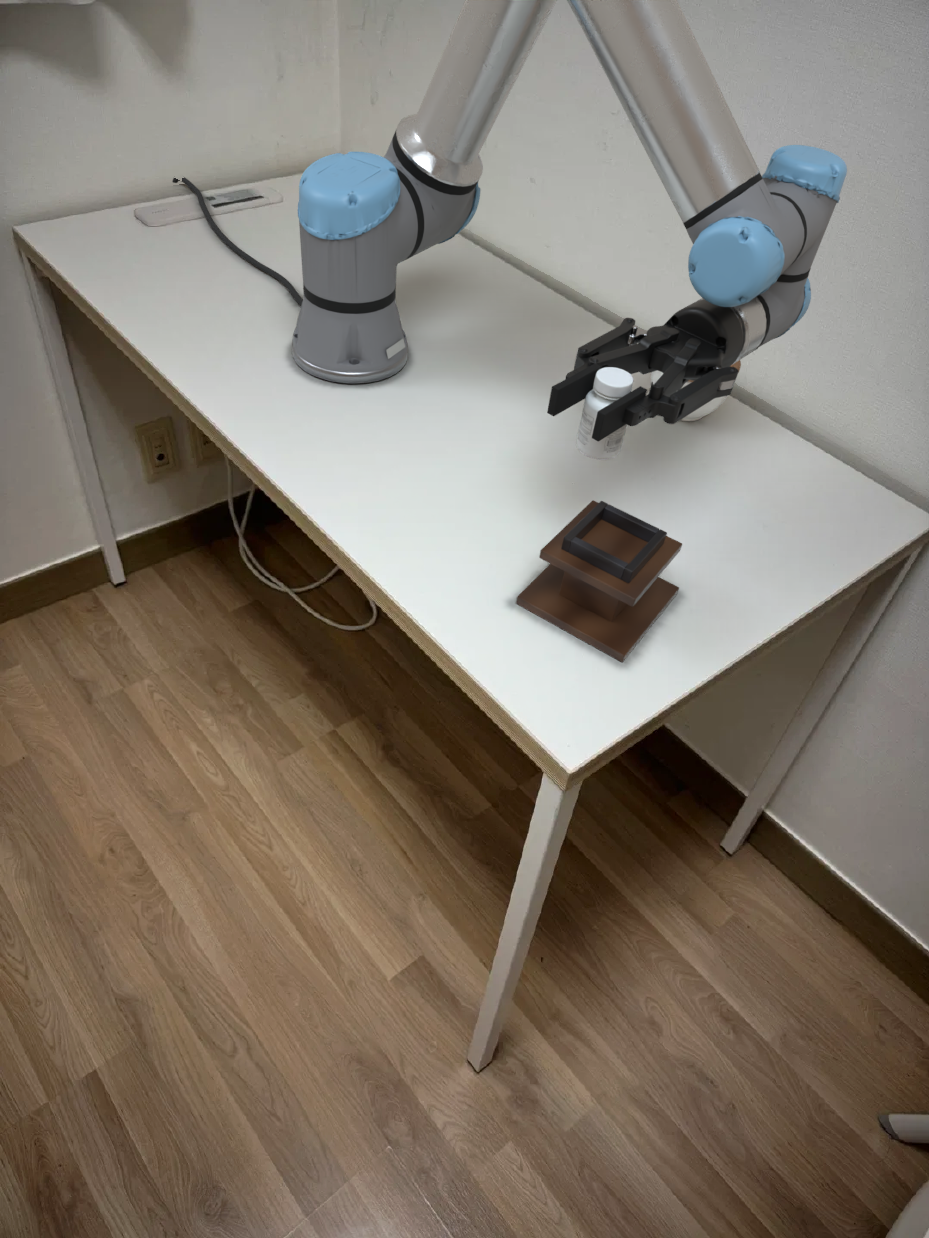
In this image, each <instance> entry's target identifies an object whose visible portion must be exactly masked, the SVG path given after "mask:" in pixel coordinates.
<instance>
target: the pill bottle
mask: <svg viewBox="0 0 929 1238" xmlns="http://www.w3.org/2000/svg"><path fill="white" fill-rule="evenodd" d="M633 385H634V377H633V374H630V373H628V372H627V371H625V370H622V369H619V368H614V367H605V368H602V369H600V370H598V371H597V373H596V376H595V380H594V385H593V389H592V390H591V391H590V392H589V393H588V394H587V395H586V398H585V399H584V403H583V406H582V411H581V416H580V420H579V426H578V430H577V434H576V439H575V445H576V448H577V450H578V451H579V452H580V454H582V455H584V456H586V457H587V458H591V459H595V460H601V461H602V460H605V461H607V460H611V459H614V458H615V457H617V456H618V455H619V454H620V452H621V450H622V446H623V442H624V440H625V435H626V431H627V427H628V425H627V424H626V425H624V426H623V427H621V428H620V429H618V430H616V431H615V432H613V433H611V434H610V435H608V436H607V437H605V438H603V439H602V440H600V441H599V442H598V441H596V440H594V439H593V438H592V434H593V430H594V425H595V421H596V417H597V412H598V411H599V410H601V409H603V408H604V407H606V406H608V405H609V404H611V403H613V402H615V401H616V400H618V399H620V398H621V397H623V396H625V395H626V394H628V393H630V392H632V391H633Z"/></svg>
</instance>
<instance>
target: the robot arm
mask: <svg viewBox="0 0 929 1238" xmlns="http://www.w3.org/2000/svg"><path fill="white" fill-rule="evenodd" d="M557 2H558V0H464V2H463V4H462V7H461V9H460V11H459V14H458V16H457V19H456V21H455V23H454V26H453V28H452V30H451V33H450V35H449V38H448V40H447V42H446V45H445V46H444V49H443V51H442V53H441V56H440V58H439V61H438V63H437V66H436V68H435V70H434V73H433V74H432V77H431V79H430V82H429V84H428V87H427V89H426V91H425V93H424V96H423V99H422V101H421V103H420V106H419V108H418V111H417V112H416V113H413V114H410V115H406V116H404V117H403V118H402V119H400V121H399V122H398V124H397V126H396V128H395V131H394V133H393V136H392V137H391V140H390V143H389V145H388V148H387V150H386V153H385V154H384V156H381V155H379V154H377V153H372V152H368V151H367V152H366V151H348V152H347V153H345V154H344V153H341V152H336V153H332V154H329V155H328V154H327V155H326V156H323V157H320V158H318V159H317V160H315V161H313V162H312V163H311V164H310V165H309V166H307V167H306V168H305V170H304V171H303V172H302V175H301V177H300V179H299V185H298V202H297V218H298V223H299V224H298V225H299V241H300V242H299V243H300V257H301V272H302V273H301V275H302V287H303V288H302V289H303V298H302V297H301V295H300V294H299V293H298V291H297V290H296V288H295V287H294V286H293V284H292V283H291V282H290V281H289V280H288V279H287V278H286V277H284V276H283V275H282V274H280V273H279V272H277V271H276V270H273V269H272V268H270V267H268V266H266V265H265V264H264V263H262V262H260V261H259V260H256V259H255V258H254V257H252V256H250V255H249V254H248V253H246V252H245V251H244V250H242V249H241V248H240V247H239V246H237V245H236V244H235V243H234V242H232V241H231V240H230V239H229V238H228V237H227V236H226V235H225V233H223V232H222V230H221V229H220V228H219V226H218V225H217V224H216V222H215V221H214V219H213V217H212V215H211V213H210V211H209V209H208V206H207V205H206V203H205V198H204V196H203V193H202V192H201V191H200V189H198V187H197V186H196V185H194V183H192V182H191V181H190V180H189V179H188V178H186V177H185V176H183V177H184V178H182V181H180V180H178V179H176V178H174V177H173V178H172V181H171V182H172V183H173V184H177V183H179V182H181V183H183V184H185V185H186V186H187V187H188V188H189V189H190V190H191V191H192V192H193V193H194V194H195V196H196V197H197V199H198V203H199V206H200V208H201V210H202V212H203V214H204V217H205V220H206V221H207V223H208V225H209V226H210V228H211V229H212V230H213V232H214V233H215V234H216V236H217V237H218V238H219V239H220V240H221V241H222V242H223V243H224V244H225V245H226V246H227V247H228V248H229V249H230V250H232V251H233V252H234V253H235V254H236V255H238V256H239V257H241V258H242V259H243V260H245V261H246V262H248V263H249V264H251V265H252V266H254V267H255V268H257V269H258V270H261V271H262V272H264V273H265V274H267V275H269V276H270V277H273V278H274V279H276V280H277V281H278V282H279V283H281V284H282V285H283V286H284V287H285V288H286V290H288V292H289V293H290V294H291V296H292V297H293V299H294V301H296V303H297V304H298V305H299V306H300V309H299V313H298V316H297V320H296V323H295V324H296V325H295V328H294V330H293V334H292V340H291V347H292V349H291V350H292V357H293V360H294V361H295V363H296V364H297V366H299V367H300V368H301V369H302V370H303V371H305V372H306V373H307V374H310V375H311V376H313V377H316V378H318V379H322V380H325V381H329V382H333V383H340V384H366V383H367V384H369V383H374V382H378V381H382V380H385V379H388V378H390V377H392V376H394V375H396V374H397V373H399V372H400V371H401V370H402V369H403V368H404V367H405V365H406V364H407V362H408V353H409V344H408V339H407V336H406V333H405V330H404V329H403V326H402V321H401V316H400V313H399V308H398V305H397V302H396V301H397V299H396V294H397V267H398V265H399V264H401V263H403V262H405V261H406V260H409V259H410V258H412V257H414V256H416V255H418V254H421V253H422V252H425V251H426V250H429V249H430V248H433V247H434V246H436V245H440V244H444V243H445V242H448V241H449V240H451V239H453V238H454V237H456V235H458V234H459V233H460V232H461V231H462V230H464V229H465V228H466V227H467V226H468V225H469V223H470V222H471V221H472V219H473V218H474V216H475V214H476V212H477V210H478V206H479V203H480V199H481V187H480V186H479V181H480V179H481V177H482V175H483V171H484V165H483V160H482V158H481V155H480V151H481V150H482V148H483V146H484V144H485V143H486V140H487V138H488V137H489V134H490V133H491V131H492V129H493V127H494V125H495V123H496V121H497V119H498V117H499V116H500V113H501V111H502V109H503V107H504V106H505V104H506V101H507V100H508V97H509V96H510V94H511V91H512V89H513V87H514V86H515V84H516V82H517V80H518V78H519V76H520V74H521V72H522V71H523V68H524V66H525V64H526V62H527V60H528V58H529V56H530V54H531V52H532V51H533V49H534V47H535V45H536V42H537V41H538V40H539V39H538V38H539V36H540V35H541V33H542V31H543V29H544V27H545V26H546V23H547V21H548V19H549V17H550V16H551V13H552V12H553V9H554V7H555V5H556V4H557ZM566 2H567V3H568V5H569V7H570V9H571V11H572V12H573V15H574V17H575V18H576V20H577V22H578V24H579V27H580V28H581V30H582V32H583V34H584V35H585V37H586V40H587V41H588V43H589V45H590V48H591V49H592V51H593V53H594V55H595V57H596V59H597V61H598V63H599V64H600V66H601V69H602V70H603V72H604V74H605V76H606V78H607V80H608V82H609V83H610V86H611V88H612V89H613V91H614V93H615V95H616V97H617V99H618V101H619V103H620V105H621V107H622V109H623V111H624V112H625V114H626V116H627V118H628V120H629V122H630V124H631V126H632V128H633V130H634V132H635V134H636V135H637V138H638V140H639V141H640V143H641V145H642V147H643V149H644V151H645V152H646V155H647V157H648V159H649V160H650V162H651V164H652V167H653V168H654V170H655V172H656V174H657V176H658V179H660V182H661V184H662V185H663V187H664V189H665V191H666V193H667V195H668V197H669V199H670V201H671V202H672V205H673V206H674V208H675V211H676V212H677V215H678V216H679V218H680V220H681V222H682V224H683V226H684V228H685V230H686V233H687V235H688V237H689V239H690V241H691V243H692V246H691V247H690V251H689V254H688V265H687V269H688V277H689V281H690V283H691V286H692V287H693V289H694V290H695V292H696V293H697V294H698V295H699V297H701V298H700V299H698V300H696V301H694V302H692V303H690V304H688V305H687V306H684V307H683V308H680V309H679V310H678V311H676V312H675V313H674V314H673V315H671V317H669V319H668V320H667V321H666V322H665V323H664V324H662V325H658V326H657V325H656V326H652V327H650V328H648V329H644V328H639V327H638V326H637V325H636V319H635V318H632V317H624V318H623V319H622V322H621V323H620V325H619V326H617V327H615V328H613V329H611V330H609V331H607V332H606V333H603V334H602V335H599V336H598V337H596V338H594V339H592V340H590V341H589V342H587V343H585V344H582V345H581V346H579V347H577V351H576V356H575V362H574V367H573V370H571V371H569V372H567V374H566V375H565V379H563V380H561V381H559V382H557V383H556V384H553V385H552V386H551V390H550V395H549V399H548V400H549V402H548V406H547V410H546V411H547V414H549V416H552V417H556V416H558V415H559V414H561V413H562V412H564V411H566V410H567V409H569V408H571V407H573V406H575V405H577V404H578V403H580V402H582V401H583V400H584V401H585V398H586V395H587V394H588V393H589V392H590V391H591V390H592V389H593V385H594V380H595V376H596V373H597V371H598V370H600V369H602V368H605V367H614V368H619V369H622V370H625V371H627V372H628V373H630V374H631V375H634V374H637V373H640V374H642V376H643V375H648V374H651V372H654V371H657V370H658V371H661V372H662V373H664V374H663V375H662V376H661V377H660V378H659V379H658V380H657V382H656V383H655V384H653V382H652V383H651V382H650V386H649V387H650V388H649V390H648V389H647V388H645V387H643V386H638V387H637V388H635V389H632V390H631V392H630V393H628V394H626V395H625V396H623V397H621V398H620V399H618V400H616V401H615V402H613V403H611V404H609V405H608V406H606V407H604V408H603V409H601V410H599V411H598V412H597V417H596V421H595V425H594V430H593V434H592V438H593V439H594V440H596V441H598V442H599V441H600V440H602V439H603V438H605V437H607V436H608V435H610V434H611V433H613V432H615V431H616V430H618V429H620V428H621V427H623V426H624V425H626V424H627V426H629V427H636V426H637V425H639V424H641V423H642V422H644V421H645V420H647V419H653V418H656V417H657V416H658V417H662V421H663V423H665V424H668V425H674V424H676V423H678V422H680V421H681V419H683V418H684V417H686V416H687V415H689V414H691V413H692V412H694V411H695V410H697V409H699V408H700V407H702V406H703V405H705V404H706V403H708V402H710V401H711V400H713V399H714V398H718V397H723V396H727V397H728V396H730V395H731V394H732V392H733V390H734V389H733V388H734V386H735V383H736V380H737V378H738V375H739V373H740V370H738V369H737V368H735V367H730V366H731V365H732V364H734V363H736V362H737V361H739V360H740V361H741V360H743V358H745V357H747V356H749V355H750V354H751V353H753V352H754V351H757V350H758V349H759V348H760V347H762V346H763V345H765V344H767V343H769V342H770V341H773V340H774V339H777V338H780V337H782V336H783V335H785V334H786V333H787V332H788V331H790V330H791V329H792V327H794V326H795V325H796V324H797V323H798V322H799V321H800V320H802V318H803V317H804V316H805V315H806V313H807V311H808V309H809V307H810V304H811V300H812V289H811V282H810V278H809V276H810V271H811V269H812V266H813V263H814V261H815V258H816V256H817V253H818V251H819V248H820V246H821V243H822V240H823V238H824V236H825V233H826V231H827V228H828V225H829V223H830V221H831V218H832V216H833V213H834V210H835V208H836V205H837V204H839V202H840V200H841V199H840V198H841V197H840V194H841V192H842V188H843V186H844V183H845V180H846V177H847V173H848V167H847V164H846V162H845V160H844V159H843V158H842V157H840V156H839V155H838V154H836V153H834V152H832V151H829V150H826V149H823V148H821V147H816V146H810V145H804V144H788V145H783V146H781V147H779V148H777V149H776V150H774V152H773V153H772V154H771V156H770V159H769V162H768V164H767V166H766V169H765V171H764V172H763V174H761V172H760V169H759V166H758V165H757V163H756V160H755V159H754V156H753V154H752V153H751V151H750V148H749V145H748V144H747V142H746V140H745V138H744V136H743V134H742V132H741V130H740V128H739V125H738V123H737V122H736V120H735V117H734V115H733V113H732V111H731V109H730V107H729V105H728V103H727V100H726V99H725V96H724V94H723V93H722V91H721V88H720V86H719V84H718V81H717V80H716V78H715V76H714V74H713V72H712V70H711V68H710V65H709V64H708V61H707V60H706V57H705V55H704V53H703V51H702V49H701V47H700V45H699V43H698V40H697V39H696V36H695V35H694V32H693V30H692V28H691V26H690V24H689V21H688V20H687V18H686V16H685V14H684V12H683V10H682V7H681V6H680V3H679V1H678V0H566ZM738 372H739V373H738ZM689 380H692V381H693V382H691V383H690V384H688V385H686V386H685V387H683V385H684V384H685V383H686V382H688V381H689ZM682 387H683V388H682ZM647 392H648V394H647Z"/></svg>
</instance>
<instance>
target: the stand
mask: <svg viewBox="0 0 929 1238" xmlns="http://www.w3.org/2000/svg"><path fill="white" fill-rule="evenodd" d="M667 534H668V532H667V531H665V530H662V529H660V528H659V527H656V526H654V525H652V524H651V523H648V522H647V521H644V520H642V519H640V518H638V517H636V516H635V515H632V514H630V513H629V512H626V511H624V510H622V509H619V508H618V507H615V506H614V505H611V504H609V503H608V502H606V501H603V500H600V501H599V502H598V501H596V500H591V501H590V502H589V503H588V504H587V505H586V506H585V507H584V508H583V509H582V510H581V511H580V512H578V514H576V516H575V517H574V518H573V519H572V520H570V521H569V522H568V523H567V524H566V525H565V526H564V527H563V528H562V529H561V530H560V531H559V532H558V533H557V534H556V535H555V536H554V537H552V539H551V540H550V541H549V542H548V543H546V544H545V545H544V547H542V548H541V549H540V553H539V556H538V557H539V559H541V560H542V561H545V562H546V563H548V566H546V567H545V568H544V570H542V571H541V572H540V574H538V575H537V576H536V577H535V578H534V579H533V580H532V581H531V582H530V583H529V584H528V585H527V586H526V587H525V588H524V589H523V590H522V591H521V592H520V593H519V594H518V595H517V596H516V600H515V601H516V602H515V604H516V605H518V606H519V607H522V609H525V610H527V611H528V612H530V613H532V614H534V615H536V616H538V617H539V618H541V619H543V620H545V621H546V622H548V623H550V624H552V625H554V626H555V627H557V628H559V629H561V630H563V631H565V632H567V633H568V634H570V635H571V636H574V637H575V638H577V639H579V640H581V641H583V642H584V643H586V644H587V645H590V646H591V647H594V649H597V650H599V651H600V652H602V653H604V654H606V655H607V656H610V657H611V658H613V659H614V660H617V661H619V662H620V663H624V661H625V660H626V659H627V658H628V656H629V655H630V654H631V653H632V651H633V650H634V649H635V648H636V646H637V645H638V644H639V643H640V641H641V640H642V639H643V638H644V636H645V635H646V634H647V633H648V631H649V630H650V629H651V627H653V625H654V624H655V623H656V622H657V620H658V619H659V618H660V616H661V615H662V614H663V613H664V611H665V610H666V609H667V607H669V605H670V604H671V602H672V601H673V600H674V599H675V598H676V596H677V595H678V593H679V590H680V587H679V586H678V585H675V584H674V583H671V582H669V581H667V580H665V579H664V578H662V577H659V576H661V574H662V573H663V572H664V571H665V569H666V568H667V567H668V566H669V565H670V564H671V562H672V561H674V559H675V558H676V557H677V555H678V554H679V553H680V552H681V550H682V546H683V543H682V542H680V541H678V540H676V539H674V538H672V537H670V536H668V535H667Z"/></svg>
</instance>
